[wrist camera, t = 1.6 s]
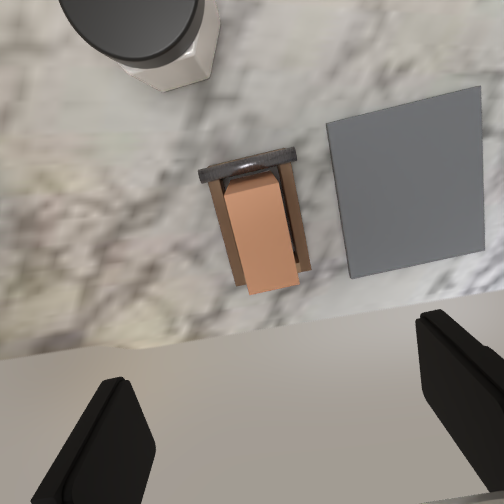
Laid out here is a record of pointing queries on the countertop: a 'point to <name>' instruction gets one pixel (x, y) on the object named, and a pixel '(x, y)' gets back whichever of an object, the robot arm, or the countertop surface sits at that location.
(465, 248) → the mat
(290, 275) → the orange block
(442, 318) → the robot arm
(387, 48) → the countertop surface
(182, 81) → the jar
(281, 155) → the dispenser
